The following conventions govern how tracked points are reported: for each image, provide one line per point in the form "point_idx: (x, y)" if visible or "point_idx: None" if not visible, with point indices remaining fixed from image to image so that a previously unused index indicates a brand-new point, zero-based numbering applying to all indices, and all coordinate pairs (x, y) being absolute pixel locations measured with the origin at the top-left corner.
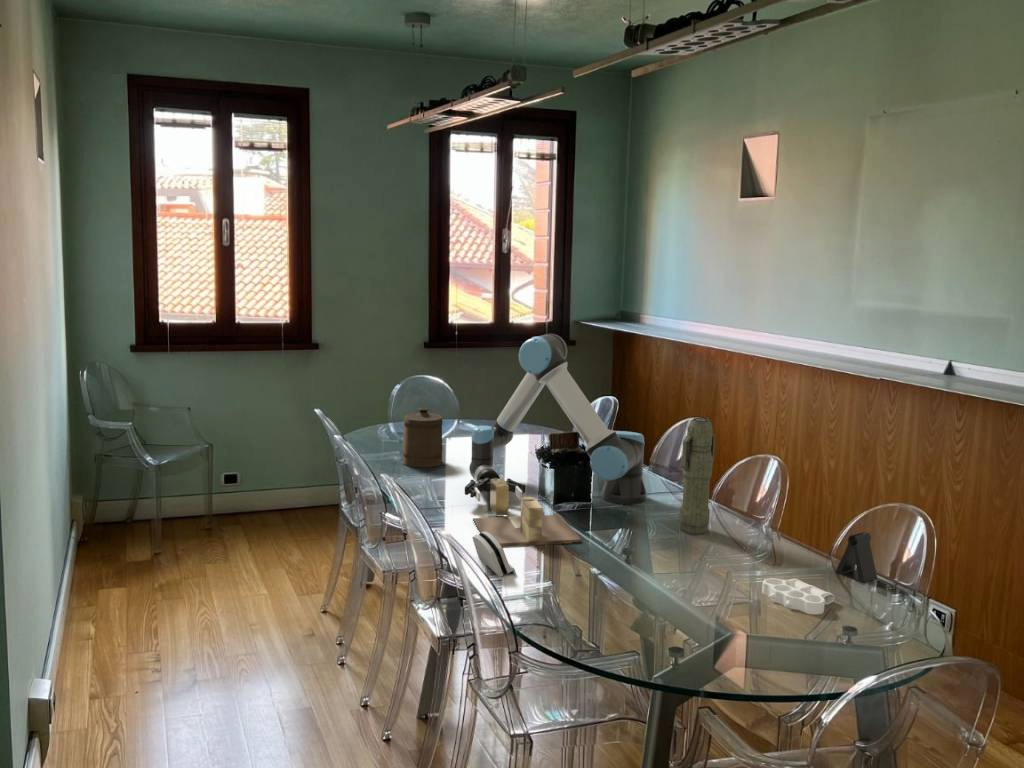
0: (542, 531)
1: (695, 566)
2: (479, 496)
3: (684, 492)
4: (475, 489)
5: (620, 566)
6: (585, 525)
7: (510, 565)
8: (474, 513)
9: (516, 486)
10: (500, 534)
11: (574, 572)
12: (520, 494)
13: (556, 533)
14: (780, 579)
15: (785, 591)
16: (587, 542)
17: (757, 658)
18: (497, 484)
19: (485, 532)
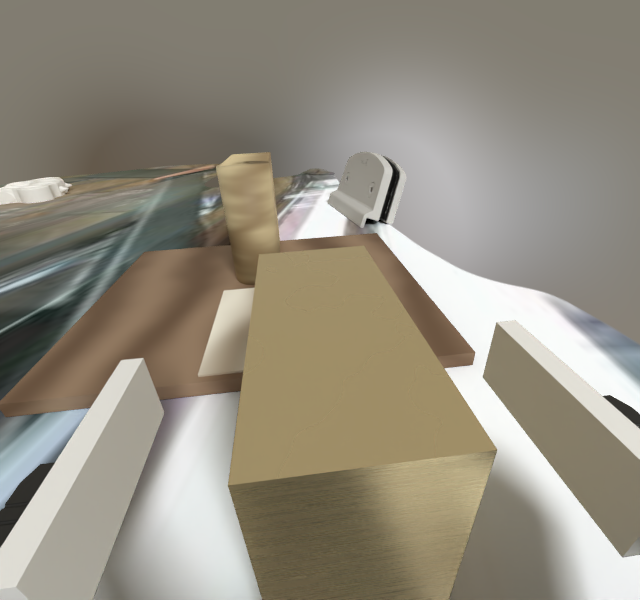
0: (215, 274)
1: (40, 221)
2: (498, 343)
3: None
4: (627, 422)
5: (156, 217)
6: (2, 340)
7: (335, 194)
8: (521, 493)
9: (20, 558)
10: None
11: None
12: (145, 379)
13: (182, 268)
14: (17, 188)
15: (51, 181)
16: (130, 261)
17: (177, 171)
18: (354, 272)
19: (380, 157)
